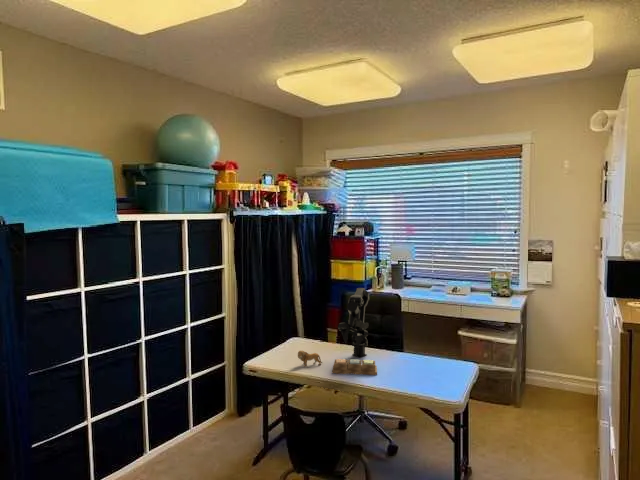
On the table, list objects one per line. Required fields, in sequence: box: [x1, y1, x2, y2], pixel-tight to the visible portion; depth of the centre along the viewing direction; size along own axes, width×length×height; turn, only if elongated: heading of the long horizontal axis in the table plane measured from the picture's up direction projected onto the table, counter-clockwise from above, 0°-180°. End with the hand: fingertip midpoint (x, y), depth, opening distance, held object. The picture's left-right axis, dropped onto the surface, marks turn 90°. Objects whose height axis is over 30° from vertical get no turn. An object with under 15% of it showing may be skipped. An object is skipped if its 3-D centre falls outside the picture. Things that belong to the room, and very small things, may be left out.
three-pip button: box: [335, 358, 347, 364], centre depth 242 cm, size 5×5×2 cm
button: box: [349, 359, 360, 364], centre depth 242 cm, size 5×5×2 cm
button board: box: [331, 359, 378, 376], centre depth 242 cm, size 24×10×5 cm, turn 84°
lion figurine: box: [297, 350, 323, 367], centre depth 251 cm, size 15×5×9 cm, turn 108°
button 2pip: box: [363, 359, 374, 365], centre depth 241 cm, size 5×5×2 cm
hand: (351, 345), depth 241 cm, fingers open, 9 cm apart
